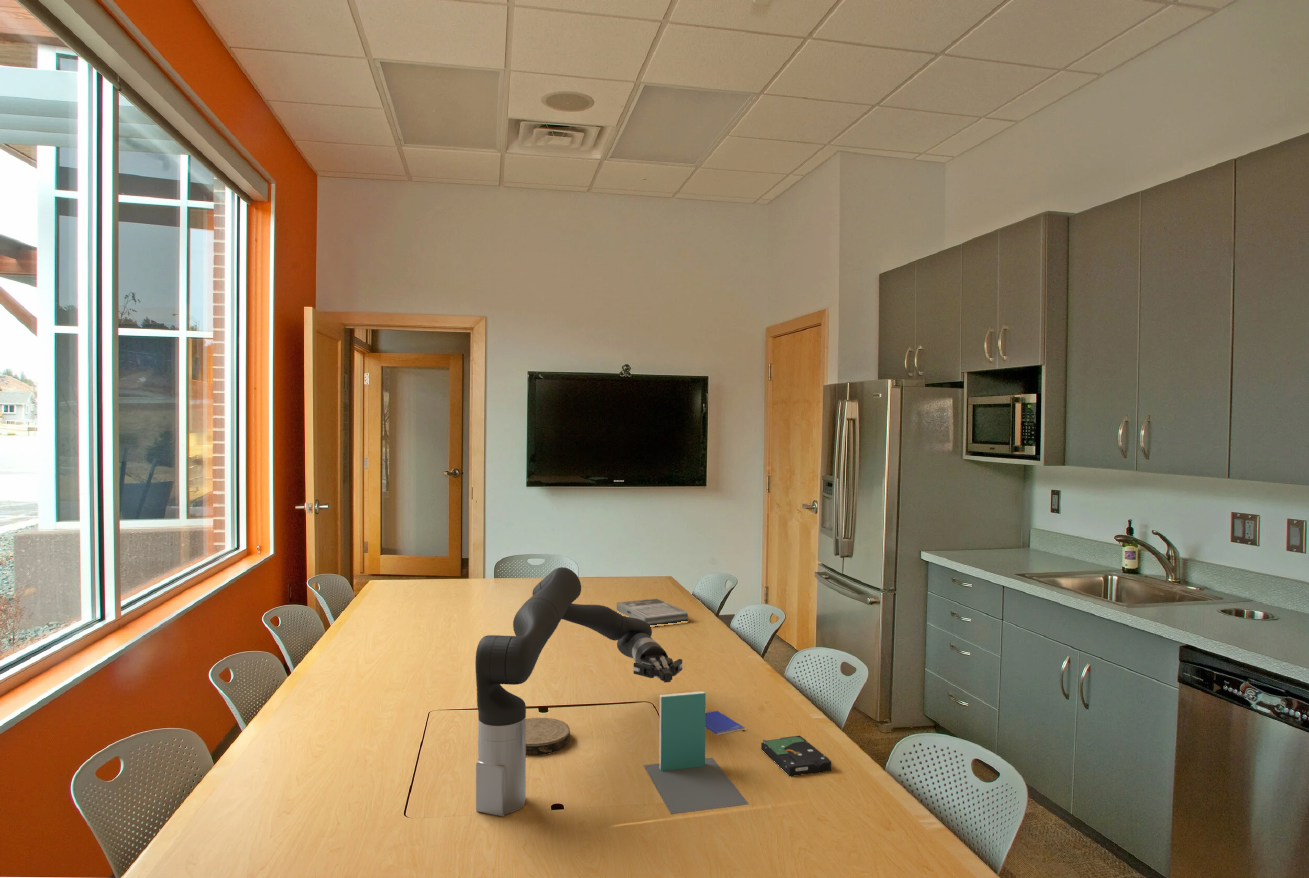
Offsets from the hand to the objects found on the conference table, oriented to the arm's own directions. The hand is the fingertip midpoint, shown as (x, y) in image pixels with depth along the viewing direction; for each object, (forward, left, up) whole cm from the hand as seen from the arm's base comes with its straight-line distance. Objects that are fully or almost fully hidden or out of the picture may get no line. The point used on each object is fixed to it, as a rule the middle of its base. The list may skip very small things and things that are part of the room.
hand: (667, 678), depth 180 cm
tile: (-10, -7, -16) cm, 20 cm away
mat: (-16, -12, -16) cm, 26 cm away
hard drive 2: (+17, -7, -17) cm, 25 cm away
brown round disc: (-9, +30, -17) cm, 35 cm away
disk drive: (+4, -29, -17) cm, 34 cm away
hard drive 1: (+112, +48, -17) cm, 123 cm away
